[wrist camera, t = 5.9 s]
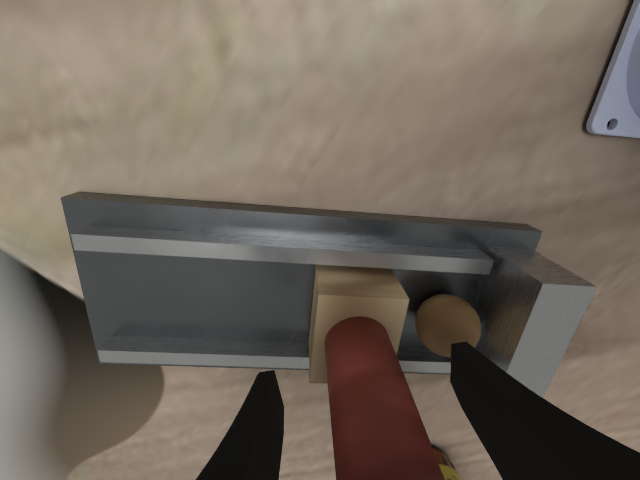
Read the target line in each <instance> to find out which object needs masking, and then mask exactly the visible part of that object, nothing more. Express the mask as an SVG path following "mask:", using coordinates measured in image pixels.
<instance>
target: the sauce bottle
mask: <svg viewBox="0 0 640 480" xmlns="http://www.w3.org/2000/svg"><path fill="white" fill-rule="evenodd" d="M432 448H433V447H432ZM433 451H434V453H435V456H436V458H437V461H438V464H439V466H440V469H441V471H442V474H443V476H444V479H445V480H461V478H460V476H459V474H458V473H457V472H456V470H455V468H454V466H453V464H452V463H451V461H450V460H449V459H448V457H446V456H445V454H444V453H442V452H441V451H440V450H438V449H435V448H433Z"/></svg>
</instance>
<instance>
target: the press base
mask: <svg viewBox="0 0 640 480" xmlns="http://www.w3.org/2000/svg"><path fill="white" fill-rule="evenodd" d="M61 201H62V205H63V210H64V214H65V218H66V222H67V227H68V231H69V235H70V240H71V244H72V248H73V253H74V257H75V261H76V266H77V270H78V274H79V278H80V283H81V287H82V291H83V296H84V300H85V304H86V308H87V313H88V317H89V322H90V325H91V330H92V334H93V339H94V343H95V347H96V352H97V356H98V360H99V364H131V365H163V366H195V367H227V368H259V369H291V370H309V333H310V322H311V312H312V301H313V290H314V279H315V269H316V264H318V265H335V266H353V267H370V268H387V269H392V270H393V272H394V274H395V276H396V277H397V279H398V281H399V282H400V284H401V286H402V288H403V289H404V291H405V293H406V294H407V296H408V298H409V303H408V308H407V312H406V316H405V321H404V325H403V329H402V334H401V338H400V342H399V347H398V351H397V355H396V356H397V358H398V361H399V363H400V366H401V369H402V371H403V373H419V374H451V357H444V356H441V355H438V354H436V353H434V352H432V351H431V350H429V349H428V348H427V347H426V346H425V345H424V344H423V343H422V341H421V340H420V338H419V336H418V334H417V331H416V326H415V319H416V314H417V311H418V309H419V307H420V306H421V305H422V303H423V302H424V301H426V300H427V299H429V298H430V297H432V296H435V295H440V294H450V295H454V296H457V297H460V298H462V299H464V300H465V301H467V302H468V303H469V304H470V305H471V306H472V307H473V308H474V309H475V311H476V312H477V314H478V316H479V319H480V322H481V336H480V339H479V341H478V343H477V345H476V346H475V347H474V348H475V349H477V350H478V351H479V352H481V353H482V354H483V355H484V356H486V357H487V358H488V359H489V360H491V361H492V362H493V363H495V364H496V365H497V366H499V367H500V368H501V369H502V370H504V371H505V372H506V373H508V374H509V375H511V376H512V377H513V378H515V379H516V380H517V381H519V382H520V383H521V384H523V385H524V386H526V387H527V388H529V389H530V390H531V391H533V392H534V393H536V394H537V395H539V396H540V397H542V398H543V396H544V394H545V392H546V390H547V388H548V386H549V384H550V382H551V380H552V378H553V376H554V374H555V372H556V370H557V368H558V366H559V364H560V361H561V359H562V357H563V355H564V353H565V351H566V349H567V347H568V345H569V343H570V341H571V339H572V337H573V335H574V333H575V331H576V329H577V327H578V325H579V323H580V321H581V319H582V317H583V314H584V312H585V310H586V308H587V306H588V304H589V302H590V300H591V298H592V296H593V294H594V292H595V290H596V288H597V287H596V286H595V285H593V284H591V283H589V282H588V281H586V280H584V279H582V278H581V277H579V276H577V275H575V274H574V273H572V272H570V271H568V270H567V269H565V268H563V267H561V266H560V265H558V264H556V263H554V262H553V261H551V260H549V259H547V258H546V257H544V256H542V255H540V254H539V253H537V252H535V249H536V246H537V244H538V241H539V239H540V236H541V233H542V231H540V230H537V229H535V228H533V227H531V226H529V225H527V224H514V223H500V222H487V221H473V220H459V219H445V218H432V217H418V216H404V215H390V214H377V213H363V212H349V211H335V210H321V209H308V208H294V207H280V206H266V205H253V204H239V203H225V202H211V201H198V200H184V199H170V198H156V197H143V196H129V195H115V194H101V193H88V192H77V193H73V194H70V195H67V196H64V197H61Z"/></svg>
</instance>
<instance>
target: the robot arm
mask: <svg viewBox="0 0 640 480" xmlns="http://www.w3.org/2000/svg"><path fill="white" fill-rule="evenodd" d="M609 120H610V125H609V126H608V128H607V123H608V122H609ZM586 129H587V131H588V132H589V133H591V134H599V135H609V136H619V137H630V138H640V0H634V2H633V4H632V7H631V9H630V12H629V15H628V17H627V20H626V22H625V25H624V28H623V30H622V33H621V35H620V38H619V40H618V43H617V46H616V48H615V51H614V53H613V56H612V59H611V61H610V64H609V66H608V69H607V72H606V74H605V77H604V79H603V82H602V85H601V87H600V90H599V92H598V95H597V97H596V100H595V103H594V105H593V108H592V110H591V113H590V116H589V118H588V121H587V124H586ZM450 382H451V384H452V387H453V389H454V391H455V394H456V396H457V398H458V400H459V403H460V405H461V407H462V409H463V411H464V413H465V414H466V416H467V418H468V420H469V421H470V423H471V425H472V427H473V428H474V430H475V432H476V433H477V435H478V437H479V439H480V440H481V442H482V444H483V445H484V447H485V449H486V451H487V452H488V454H489V456H490V457H491V459H492V461H493V463H494V464H495V466H496V468H497V470H498V471H499V473H500V475H501V477H502V479H503V480H640V453H639V452H637V451H635V450H633V449H631V448H629V447H627V446H625V445H623V444H621V443H619V442H617V441H615V440H614V439H612V438H610V437H608V436H606V435H604V434H602V433H600V432H598V431H597V430H595V429H593V428H591V427H589V426H588V425H586V424H584V423H582V422H581V421H579V420H577V419H576V418H574V417H572V416H571V415H569V414H567V413H566V412H564V411H562V410H561V409H559V408H557V407H556V406H554V405H553V404H551V403H549V402H548V401H546V400H545V399H543V398H542V397H540V396H539V395H537V394H536V393H534V392H533V391H531V390H530V389H529V388H527V387H526V386H524V385H523V384H521V383H520V382H519V381H517V380H516V379H515V378H513V377H512V376H511V375H509V374H508V373H506V372H505V371H504V370H502V369H501V368H500V367H499V366H497V365H496V364H495V363H493V362H492V361H491V360H489V359H488V358H487V357H486V356H484V355H483V354H482V353H481V352H479V351H478V350H477V349H475V348H474V347H473V346H472V345H470V344H469V343H468V342H460V343H453V344H451V374H450ZM283 435H284V405H283V401H282V397H281V394H280V390H279V386H278V383H277V379H276V375H275V371H274V370H273V371H266V372H259V374H258V375H257V377H256V379H255V381H254V383H253V385H252V387H251V389H250V391H249V393H248V395H247V397H246V399H245V401H244V403H243V405H242V407H241V409H240V411H239V412H238V414H237V416H236V418H235V420H234V421H233V423H232V425H231V427H230V428H229V430H228V432H227V433H226V435H225V437H224V438H223V440H222V442H221V443H220V445H219V446H218V448H217V450H216V451H215V453H214V454H213V456H212V457H211V459H210V460H209V462H208V463H207V465H206V466H205V467H204V469H203V470H202V472H201V473H200V474H199V476H198V477H197V479H196V480H278V479H279V470H280V462H281V453H282V444H283Z"/></svg>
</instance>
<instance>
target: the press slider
mask: <svg viewBox="0 0 640 480" xmlns="http://www.w3.org/2000/svg"><path fill="white" fill-rule="evenodd" d="M408 303H409V298H408V296H407V294H406V293H405V291H404V289H403V288H402V286H401V284H400V282H399V281H398V279H397V277H396V276H395V274H394V272H393V270H392V269H387V268H370V267H353V266H335V265H318V264H316V269H315V279H314V290H313V301H312V312H311V322H310V333H309V378H310V383H328V391H329V403H330V414H331V425H332V436H333V448H334V459H335V470H336V480H445V479H444V476H443V474H442V471H441V469H440V466H439V464H438V461H437V458H436V456H435V453H434V451H433V448H432V446H431V443H430V440H429V438H428V435H427V433H426V430H425V428H424V425H423V423H422V420H421V417H420V415H419V412H418V410H417V407H416V405H415V402H414V399H413V397H412V394H411V392H410V389H409V387H408V384H407V381H406V379H405V376H404V374H403V371H402V369H401V366H400V363H399V361H398V358H397V356H396V355H397V351H398V347H399V342H400V338H401V334H402V329H403V325H404V321H405V316H406V312H407V308H408Z"/></svg>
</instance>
